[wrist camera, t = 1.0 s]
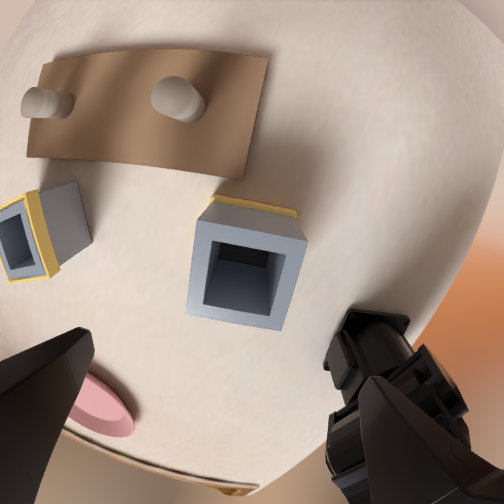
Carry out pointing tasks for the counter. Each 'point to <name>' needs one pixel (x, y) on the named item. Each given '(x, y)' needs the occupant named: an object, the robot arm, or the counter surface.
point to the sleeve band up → (41, 232)
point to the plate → (101, 409)
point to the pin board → (148, 109)
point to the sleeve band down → (243, 275)
